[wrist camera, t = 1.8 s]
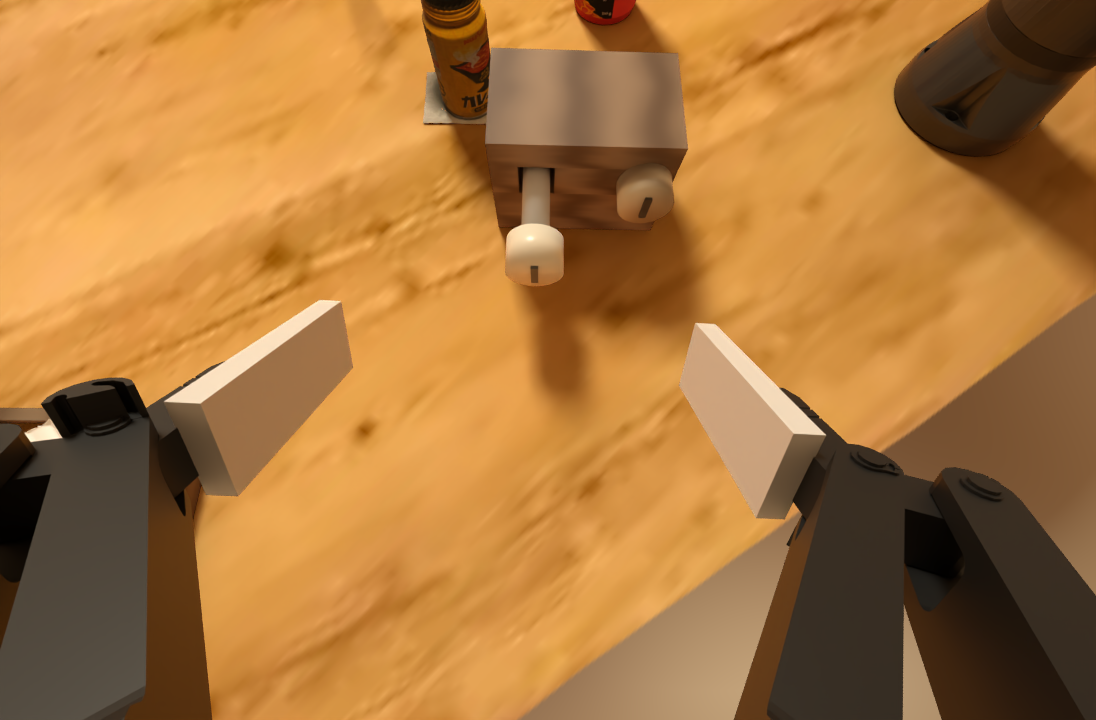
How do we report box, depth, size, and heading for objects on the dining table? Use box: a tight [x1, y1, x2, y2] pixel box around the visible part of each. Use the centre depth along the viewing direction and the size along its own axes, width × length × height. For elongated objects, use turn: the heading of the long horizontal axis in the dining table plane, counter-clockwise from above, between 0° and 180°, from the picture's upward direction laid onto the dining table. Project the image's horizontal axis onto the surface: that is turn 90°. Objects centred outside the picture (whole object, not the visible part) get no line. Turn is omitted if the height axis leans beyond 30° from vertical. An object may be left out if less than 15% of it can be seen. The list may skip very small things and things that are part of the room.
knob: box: [505, 167, 564, 286], centre depth 34 cm, size 5×15×5 cm, turn 179°
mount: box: [485, 48, 688, 230], centre depth 37 cm, size 16×13×11 cm
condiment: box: [421, 0, 491, 124], centre depth 40 cm, size 7×8×12 cm
